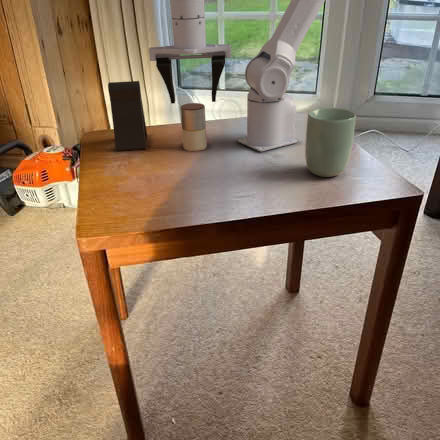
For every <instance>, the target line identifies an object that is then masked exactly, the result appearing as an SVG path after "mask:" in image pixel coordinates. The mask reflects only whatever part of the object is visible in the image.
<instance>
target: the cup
mask: <svg viewBox="0 0 440 440" xmlns="http://www.w3.org/2000/svg"><path fill="white" fill-rule="evenodd" d="M356 125H357V114H356V113H355V112H354V111H353V110H351V109H347V108H342V107H322V108H321V107H319V108H315V109H311V110H310V111H308V113H307V117H306V125H305V139H304V158H305V165H306V167H307V169H308V171H309V172H310V173H312V174H313V175H315V176H317V177H320V178H331V177H336V176H338V175H341V174H342V173H343V172H344V171H345V170H346V168H347V166H348V164H349V161H350V158H351V154H352V149H353V144H354V137H355V131H356Z"/></svg>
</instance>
